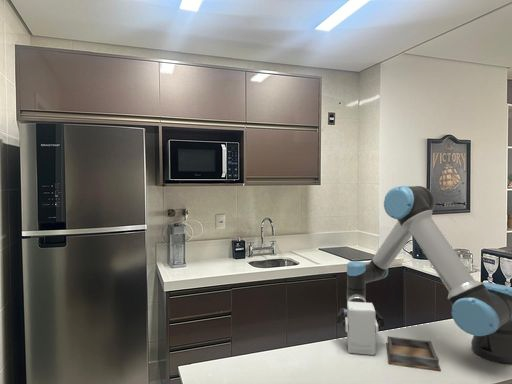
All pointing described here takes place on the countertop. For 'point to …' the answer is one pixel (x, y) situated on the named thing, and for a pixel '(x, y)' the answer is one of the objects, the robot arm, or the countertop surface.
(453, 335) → the countertop surface
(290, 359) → the countertop surface
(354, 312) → the supplement box
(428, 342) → the gray rimmed tray
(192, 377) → the countertop surface
